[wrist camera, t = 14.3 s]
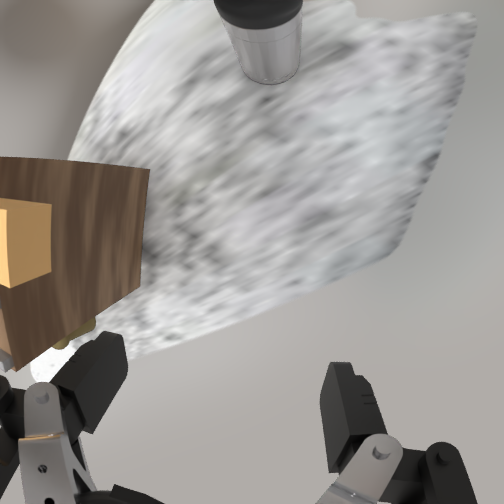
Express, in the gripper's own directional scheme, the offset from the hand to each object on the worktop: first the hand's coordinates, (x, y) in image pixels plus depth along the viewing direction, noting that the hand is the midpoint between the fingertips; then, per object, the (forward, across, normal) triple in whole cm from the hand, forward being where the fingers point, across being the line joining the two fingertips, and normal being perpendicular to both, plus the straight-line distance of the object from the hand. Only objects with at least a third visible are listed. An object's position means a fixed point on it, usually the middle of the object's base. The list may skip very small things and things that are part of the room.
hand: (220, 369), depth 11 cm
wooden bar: (+7, +24, -3) cm, 25 cm away
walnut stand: (+37, +25, +5) cm, 45 cm away
